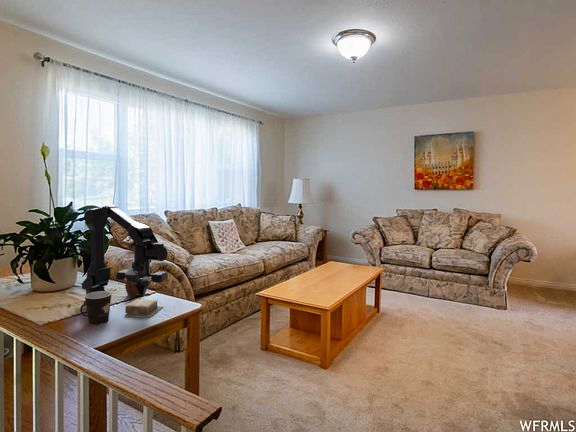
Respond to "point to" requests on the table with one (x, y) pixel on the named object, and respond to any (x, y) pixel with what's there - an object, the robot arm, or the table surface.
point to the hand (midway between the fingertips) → (142, 296)
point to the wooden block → (141, 307)
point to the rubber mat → (146, 315)
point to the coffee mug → (97, 307)
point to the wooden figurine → (131, 289)
